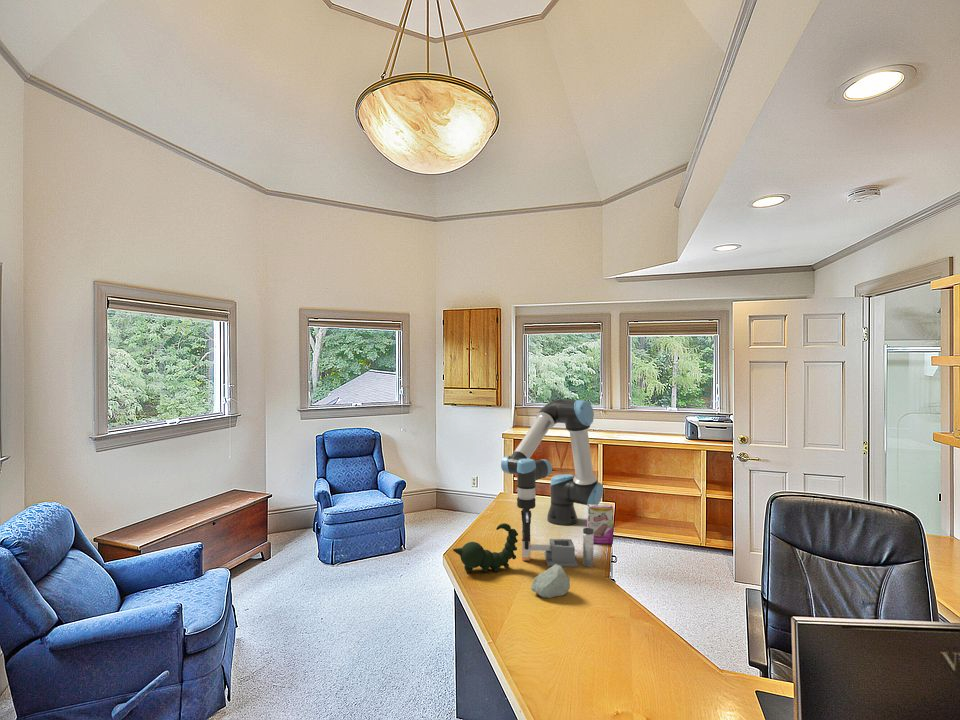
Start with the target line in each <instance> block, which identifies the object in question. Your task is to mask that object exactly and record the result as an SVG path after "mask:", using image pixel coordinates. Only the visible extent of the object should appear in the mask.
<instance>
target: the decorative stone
mask: <svg viewBox="0 0 960 720" xmlns="http://www.w3.org/2000/svg"><path fill="white" fill-rule="evenodd" d="M570 581H571V580H570V577H569V576H568V575H567V573H566V571H565V570H564V568H563V566H560V565H557V564H555V565H554V566H550V567H549V568H548V569H546V570H545V571H542V572H540V573H539V574H537V576H535V578H533V580H532V582H531V585H530V589H531V591H532V592H535V593H536V594H537V595H539V596H540V597H541V598H548V599H551V598H555V597H562V596H565V595H567V593H568V591H569V590H570V588H571V585H570Z"/></svg>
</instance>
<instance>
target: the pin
mask: <svg viewBox="0 0 960 720" xmlns="http://www.w3.org/2000/svg"><path fill="white" fill-rule="evenodd" d="M522 539H524V532H522V531H521V557H522V558H521V560H522V561H529V562H530V561H531V556H530V557H523V541H522ZM555 546H562V545H555ZM531 551H532V552H533V551H534V552H535V551H537V552H538V551H539V552H541V551H543V552H545V551H551V545H550V544H534V543H533V544H532V543H530V552H531Z"/></svg>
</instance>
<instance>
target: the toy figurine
mask: <svg viewBox="0 0 960 720" xmlns="http://www.w3.org/2000/svg"><path fill="white" fill-rule="evenodd" d="M499 529H500V530H501V529H502V530H504V531H505V532H507V534H508V535H507V536H506V542H505V543H504V547H503V549H502V550H501V551H500V552H495V551H491V550H489V549H484V547H483V546H482V545H481V544H480V543H479V542H476V541H469V542H466V543H465V544H464V545H463V546H462V547H458V548H457V547H456V548H453V549H452V551H453V552H454V553H456V555H458V556H459V558H460V560H461V563H462V564H463V565H464V571H465V572H466V573H471V572H472V571H473V569H477V568H479V567H480V568H481V571H482V572H483V573H487V572H488V571H489V569H492V570H493V571H494V573H498V572H500V568H501V567H504V568H505V569H509V567H510V564H509V560H511V559H512V560H516V559H517V555H516V554H515V553H514V552H515V551H517V550H518V547H517V546H516V544H517V543H518V541H519V540H518V539H517V536H519V533H518V531H517V530H516V529H515V528H512V526H511V525H510V524H508V523H503V522H502V523H500V524H499V525H497V526H496V531H498V530H499Z"/></svg>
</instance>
